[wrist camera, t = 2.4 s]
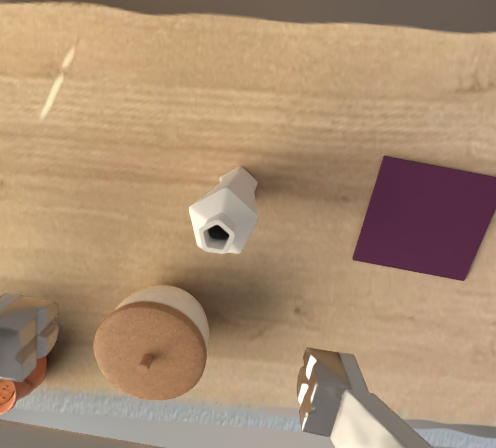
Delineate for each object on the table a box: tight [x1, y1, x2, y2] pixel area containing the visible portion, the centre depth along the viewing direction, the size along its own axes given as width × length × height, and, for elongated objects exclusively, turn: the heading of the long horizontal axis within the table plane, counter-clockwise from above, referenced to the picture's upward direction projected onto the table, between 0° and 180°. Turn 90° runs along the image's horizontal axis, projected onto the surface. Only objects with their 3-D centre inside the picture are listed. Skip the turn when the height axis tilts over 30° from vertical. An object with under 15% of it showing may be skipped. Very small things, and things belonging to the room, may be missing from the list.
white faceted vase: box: [189, 166, 258, 254], centre depth 26 cm, size 5×4×15 cm
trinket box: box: [94, 285, 209, 400], centre depth 34 cm, size 11×11×9 cm
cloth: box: [353, 156, 496, 281], centre depth 33 cm, size 12×11×1 cm
